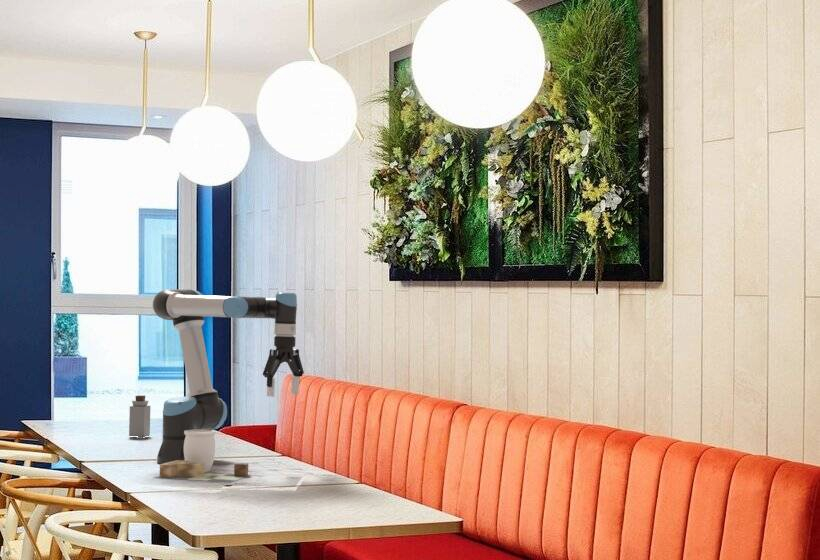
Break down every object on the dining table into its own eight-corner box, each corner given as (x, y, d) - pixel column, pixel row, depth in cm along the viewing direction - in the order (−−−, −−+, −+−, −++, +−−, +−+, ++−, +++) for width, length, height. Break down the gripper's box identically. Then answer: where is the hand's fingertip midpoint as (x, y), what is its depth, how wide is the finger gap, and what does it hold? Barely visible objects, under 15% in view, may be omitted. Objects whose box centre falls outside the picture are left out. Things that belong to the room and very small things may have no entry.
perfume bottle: (134, 436, 488) (136, 394, 488) (149, 436, 487) (150, 395, 487) (128, 437, 481) (130, 396, 482) (143, 438, 480) (144, 396, 481)
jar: (176, 475, 375) (178, 431, 375) (193, 471, 384) (194, 428, 385) (204, 478, 371) (205, 433, 371) (220, 474, 380) (221, 430, 381)
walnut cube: (234, 476, 365) (234, 464, 365) (236, 474, 369) (236, 462, 369) (246, 476, 365) (246, 464, 365) (248, 475, 369) (248, 462, 369)
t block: (159, 476, 361) (159, 464, 361) (176, 472, 372) (177, 460, 372) (193, 478, 357) (193, 466, 358) (209, 474, 369) (210, 461, 369)
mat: (152, 481, 358) (152, 477, 358) (178, 474, 375) (178, 470, 375) (229, 486, 351) (229, 482, 351) (252, 478, 368) (252, 475, 368)
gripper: (270, 336, 385) (268, 397, 385) (314, 336, 406) (312, 394, 406) (254, 335, 389) (251, 396, 389) (298, 335, 410) (296, 392, 410)
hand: (282, 395), depth 397 cm, fingers open, 13 cm apart
